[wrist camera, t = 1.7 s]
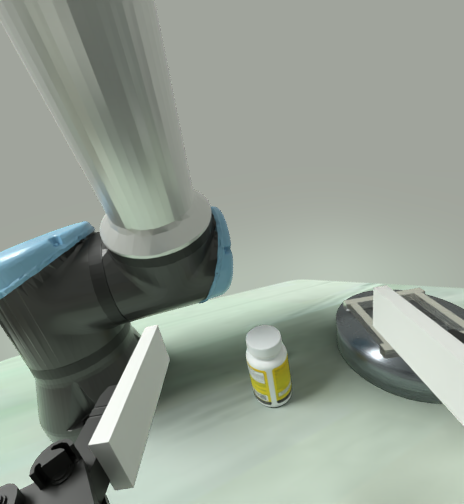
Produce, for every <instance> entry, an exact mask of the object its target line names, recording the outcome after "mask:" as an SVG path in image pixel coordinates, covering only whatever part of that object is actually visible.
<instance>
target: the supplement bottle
mask: <svg viewBox="0 0 464 504" xmlns="http://www.w3.org/2000/svg"><path fill="white" fill-rule="evenodd" d="M246 345H247V350H246V360H247V365H248V369H249V373H250V378H251V382H252V387H253V391H254V395H255V397H256V399H257V400H258V401H259V402H260V403H261V404H263V405H265V406H268V407H278V406H281V405H283V404H285V403H286V402H287V401H288V400H289V399H290V397H291V394H292V383H291V376H290V369H289V362H288V355H287V350H286V347H285V345H284V344H283V343H282V338H281V334H280V332H279V330H278V329H277V328H275V327H273V326H270V325H260V326H256V327H254V328H252V329H251V330H250V331H249V332H248V333H247V335H246Z"/></svg>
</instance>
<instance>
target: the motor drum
mask: <svg viewBox="0 0 464 504" xmlns="http://www.w3.org/2000/svg"><path fill="white" fill-rule="evenodd" d="M393 291H395V292H396V293H397V294H399V295H400V296H401V297H403V298H404V299H405V300H407V301H408V302H409V303H411V304H412V305H413V306H414V307H416V308H417V309H418V310H420V311H421V312H422V313H424V314H425V315H426V316H428V317H429V318H430V319H432V320H433V321H434V322H436V323H437V324H438V325H439V326H441V327H442V328H443V329H445V330H450V329H455V330H457V331H459V332H462V333H464V309H462V308H461V307H459V306H457V305H454V304H452V303H450V302H447V301H445V300H442V299H439V298H436V297H433V296H430V295H426V294H425V291H424V290H422V289H421V288H415V289H409V290H393ZM336 324H337V343H338V348H339V351H340V353H341V355H342V357H343V358H344V360H345V361H346V362H347V364H348V365H349V366H350V367H351V368H352V369H353V370H354V371H355V372H356V373H357V374H359V375H360V376H361V377H363V378H364V379H365V380H367V381H368V382H370V383H372V384H373V385H375V386H377V387H379V388H381V389H383V390H385V391H387V392H390V393H392V394H395V395H397V396H400V397H404V398H407V399H411V400H415V401H420V402H427V403H442V402H441V401H440V400H439V398H438V397H437V396H436V395H435V394H434V393H433V392H432V391H431V390H430V389H429V387H428V386H427V385H426V384H425V383H424V382H423V381H422V380H421V379H420V377H419V376H418V375H417V374H416V373H415V372H414V371H413V370H412V369H411V367H410V366H409V365H408V364H407V363H406V362H405V361H404V360H403V359H402V358H401V356H400V355H399V354H398V353H397V352H396V351H395V350H394V349H393V348H392V346H391V345H390V344H389V343H388V342H387V341H386V340H385V339H384V338H383V337H382V335H381V334H380V333H379V332H378V331H377V330H376V329H375V328H374V327H373V291H367V292H363V293H359V294H357V295H354V296H352V297H350V298H348V299H347V300H344V301H343V303H342V304H341V305H340V307H339V308H338V311H337V315H336Z"/></svg>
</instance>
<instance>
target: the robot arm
mask: <svg viewBox="0 0 464 504" xmlns="http://www.w3.org/2000/svg"><path fill="white" fill-rule="evenodd" d="M0 23H1V25H2V26H3V28H4V30H5V32H6V34H7V35H8V37H9V39H10V41H11V43H12V44H13V46H14V48H15V50H16V52H17V53H18V55H19V57H20V59H21V61H22V62H23V64H24V66H25V68H26V70H27V71H28V73H29V75H30V77H31V79H32V81H33V82H34V84H35V86H36V88H37V90H38V91H39V93H40V95H41V97H42V99H43V100H44V102H45V104H46V106H47V107H48V109H49V111H50V113H51V115H52V116H53V118H54V120H55V122H56V124H57V126H58V127H59V129H60V131H61V133H62V135H63V136H64V138H65V140H66V142H67V143H68V145H69V147H70V149H71V151H72V152H73V154H74V156H75V158H76V160H77V162H78V163H79V165H80V167H81V169H82V171H83V173H84V174H85V176H86V178H87V180H88V182H89V183H90V185H91V187H92V189H93V191H94V192H95V194H96V196H97V198H98V200H99V201H100V203H101V205H102V207H103V208H104V210H105V212H106V214H105V216H104V217H103V219H102V222H101V225H100V232H97V233H96V232H94V230H95V229H94V227H93V226H91V224H90V223H89V222H81V223H77V224H73V225H70V226H67V227H63V228H60V229H58V230H55V231H52V232H49V233H47V234H44V235H41V236H39V237H36V238H33V239H31V240H28V241H26V242H23V243H21V244H18V245H16V246H14V247H11V248H9V249H6V250H4V251H2V252H0V325H1V327H2V328H3V330H4V331H5V333H6V334H7V336H8V337H9V339H10V340H11V342H12V343H13V345H14V346H15V348H16V349H17V351H18V352H19V354H20V355H21V357H22V358H23V360H24V362H25V363H26V365H27V366H28V367H29V369H30V371H31V372H32V374H33V376H34V377H35V380H36V391H37V402H38V413H39V421H40V424H41V426H42V428H43V430H44V431H45V433H46V434H47V436H48V437H49V439H50V440H51V441H52V442H53V444H51V445H50V446H49V447H47V448H46V449H45V450H44V451H43V452H42V453H41V454H40V455H39V456H38V458H37V459H36V460H35V462H34V464H33V465H32V467H31V470H30V475H29V476H30V477H31V479H32V480H33V481H34V483H33V484H31V485H29V486H27V487H25V488H23V489H21V490H19V489H18V488H17V486H16V485H15V484H6V485H4V486H1V487H0V504H109V501H108V498H107V496H106V495H105V493H106V491H107V488H108V485H109V482H110V483H111V485H112V486H113V488H114V490H121V489H128V488H134V485H135V481H136V478H137V474H138V471H139V467H140V463H141V460H142V456H143V453H144V449H145V446H146V442H147V439H148V435H149V432H150V428H151V425H152V421H153V418H154V414H155V411H156V407H157V403H158V400H159V396H160V393H161V389H162V386H163V382H164V379H165V375H166V372H167V368H168V365H169V361H170V358H169V355H168V353H167V350H166V347H165V344H164V341H163V338H162V336H161V333H160V330H159V327H158V325H155V326H149V327H145V329H144V331H143V333H142V336H141V335H140V334H139V333H138V332H137V331H136V330H135V329H134V328H133V327H132V325H131V323H130V322H132V321H135V320H138V319H142V318H145V317H149V316H152V315H156V314H159V313H163V312H167V311H170V310H174V309H178V308H182V307H185V306H189V305H193V304H196V303H204V302H206V301H207V300H208V299H211V298H213V297H217V296H220V295H222V294H224V293H225V292H226V291H227V290H228V289H229V287H230V285H231V281H232V276H233V256H232V252H231V250H230V246H231V242H230V236H229V231H228V228H227V224H226V221H225V219H224V216H223V214H222V212H221V211H220V210H219V209H218V208H217V207H211V206H210V204H209V201H208V200H207V198H206V197H205V196H204V195H203V194H201V193H200V192H199V191H197V190H195V189H193V187H192V182H191V178H190V173H189V168H188V163H187V158H186V153H185V148H184V143H183V138H182V133H181V128H180V123H179V119H178V113H177V108H176V103H175V99H174V93H173V89H172V84H171V79H170V74H169V69H168V64H167V59H166V54H165V49H164V44H163V40H162V35H161V29H160V25H159V20H158V15H157V10H156V5H155V0H0ZM373 327H374V328H375V329H376V330H377V331H378V332H379V333H380V334H381V335H382V337H383V338H384V339H385V340H386V341H387V342H388V343H389V344H390V345H391V346H392V348H393V349H394V350H395V351H396V352H397V353H398V354H399V355H400V356H401V358H402V359H403V360H404V361H405V362H406V363H407V364H408V365H409V366H410V367H411V369H412V370H413V371H414V372H415V373H416V374H417V375H418V376H419V377H420V379H421V380H422V381H423V382H424V383H425V384H426V385H427V386H428V387H429V389H430V390H431V391H432V392H433V393H434V394H435V395H436V396H437V397H438V398H439V400H440V401H441V402H442V403H443V404H444V405H445V406H446V407H447V408H448V410H449V411H450V412H451V413H452V414H453V415H454V416H455V417H456V418H457V419H458V421H459V422H460V423H461V424H462V425H463V426H464V333H462V332H459V331H457V330H455V329H450V330H445V329H443V328H442V327H441V326H439V325H438V324H437V323H436V322H434V321H433V320H432V319H430V318H429V317H428V316H426V315H425V314H424V313H422V312H421V311H420V310H418V309H417V308H416V307H414V306H413V305H412V304H411V303H409V302H408V301H407V300H405V299H404V298H403V297H401V296H400V295H399V294H397V293H396V292H395V291H393V290H392V289H391V288H389V287H388V286H387V285H385V286H379V287H374V288H373Z"/></svg>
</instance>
